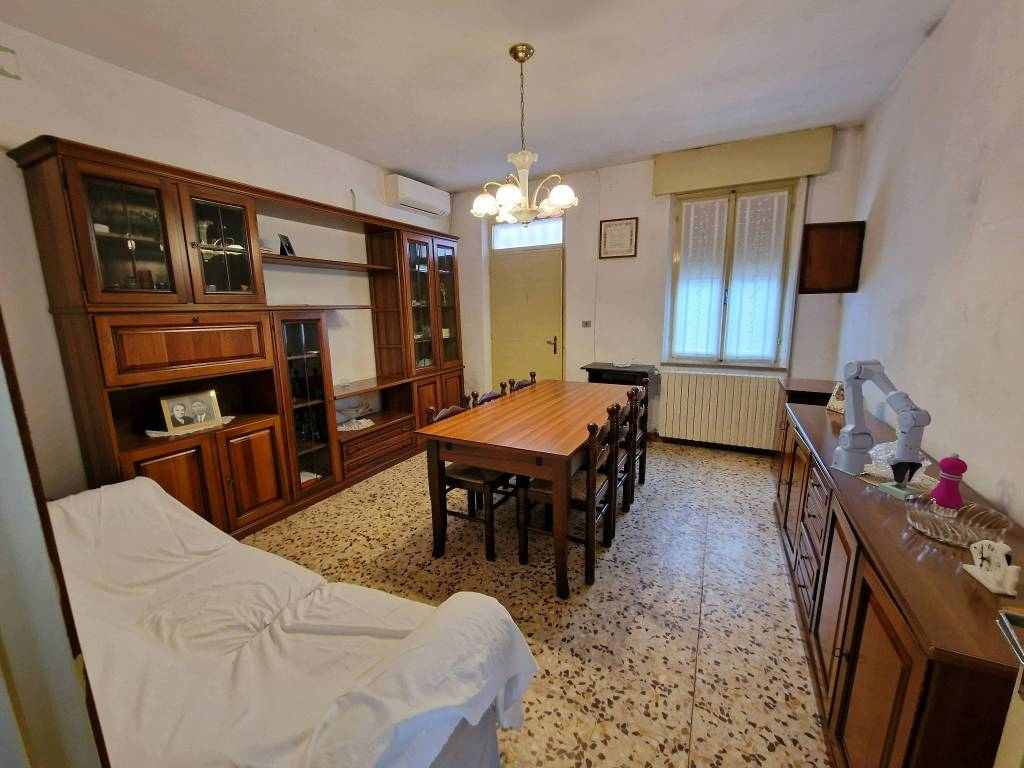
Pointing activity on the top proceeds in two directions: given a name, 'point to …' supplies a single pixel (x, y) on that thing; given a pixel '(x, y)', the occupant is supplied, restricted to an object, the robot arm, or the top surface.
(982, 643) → the top surface
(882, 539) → the top surface
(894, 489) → the socket block
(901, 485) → the peg
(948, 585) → the top surface
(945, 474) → the pepper mill
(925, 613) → the top surface
